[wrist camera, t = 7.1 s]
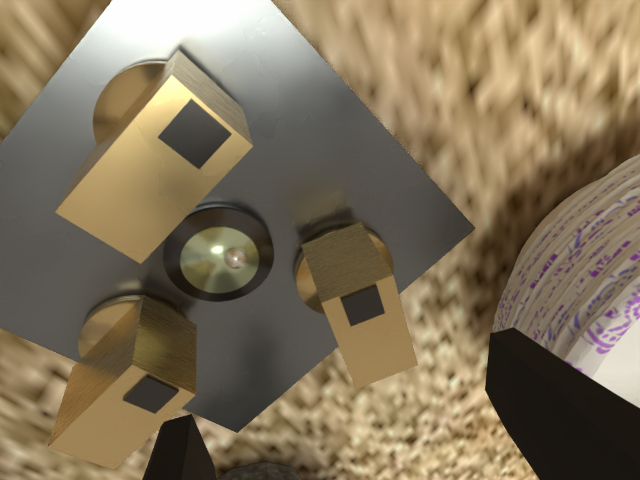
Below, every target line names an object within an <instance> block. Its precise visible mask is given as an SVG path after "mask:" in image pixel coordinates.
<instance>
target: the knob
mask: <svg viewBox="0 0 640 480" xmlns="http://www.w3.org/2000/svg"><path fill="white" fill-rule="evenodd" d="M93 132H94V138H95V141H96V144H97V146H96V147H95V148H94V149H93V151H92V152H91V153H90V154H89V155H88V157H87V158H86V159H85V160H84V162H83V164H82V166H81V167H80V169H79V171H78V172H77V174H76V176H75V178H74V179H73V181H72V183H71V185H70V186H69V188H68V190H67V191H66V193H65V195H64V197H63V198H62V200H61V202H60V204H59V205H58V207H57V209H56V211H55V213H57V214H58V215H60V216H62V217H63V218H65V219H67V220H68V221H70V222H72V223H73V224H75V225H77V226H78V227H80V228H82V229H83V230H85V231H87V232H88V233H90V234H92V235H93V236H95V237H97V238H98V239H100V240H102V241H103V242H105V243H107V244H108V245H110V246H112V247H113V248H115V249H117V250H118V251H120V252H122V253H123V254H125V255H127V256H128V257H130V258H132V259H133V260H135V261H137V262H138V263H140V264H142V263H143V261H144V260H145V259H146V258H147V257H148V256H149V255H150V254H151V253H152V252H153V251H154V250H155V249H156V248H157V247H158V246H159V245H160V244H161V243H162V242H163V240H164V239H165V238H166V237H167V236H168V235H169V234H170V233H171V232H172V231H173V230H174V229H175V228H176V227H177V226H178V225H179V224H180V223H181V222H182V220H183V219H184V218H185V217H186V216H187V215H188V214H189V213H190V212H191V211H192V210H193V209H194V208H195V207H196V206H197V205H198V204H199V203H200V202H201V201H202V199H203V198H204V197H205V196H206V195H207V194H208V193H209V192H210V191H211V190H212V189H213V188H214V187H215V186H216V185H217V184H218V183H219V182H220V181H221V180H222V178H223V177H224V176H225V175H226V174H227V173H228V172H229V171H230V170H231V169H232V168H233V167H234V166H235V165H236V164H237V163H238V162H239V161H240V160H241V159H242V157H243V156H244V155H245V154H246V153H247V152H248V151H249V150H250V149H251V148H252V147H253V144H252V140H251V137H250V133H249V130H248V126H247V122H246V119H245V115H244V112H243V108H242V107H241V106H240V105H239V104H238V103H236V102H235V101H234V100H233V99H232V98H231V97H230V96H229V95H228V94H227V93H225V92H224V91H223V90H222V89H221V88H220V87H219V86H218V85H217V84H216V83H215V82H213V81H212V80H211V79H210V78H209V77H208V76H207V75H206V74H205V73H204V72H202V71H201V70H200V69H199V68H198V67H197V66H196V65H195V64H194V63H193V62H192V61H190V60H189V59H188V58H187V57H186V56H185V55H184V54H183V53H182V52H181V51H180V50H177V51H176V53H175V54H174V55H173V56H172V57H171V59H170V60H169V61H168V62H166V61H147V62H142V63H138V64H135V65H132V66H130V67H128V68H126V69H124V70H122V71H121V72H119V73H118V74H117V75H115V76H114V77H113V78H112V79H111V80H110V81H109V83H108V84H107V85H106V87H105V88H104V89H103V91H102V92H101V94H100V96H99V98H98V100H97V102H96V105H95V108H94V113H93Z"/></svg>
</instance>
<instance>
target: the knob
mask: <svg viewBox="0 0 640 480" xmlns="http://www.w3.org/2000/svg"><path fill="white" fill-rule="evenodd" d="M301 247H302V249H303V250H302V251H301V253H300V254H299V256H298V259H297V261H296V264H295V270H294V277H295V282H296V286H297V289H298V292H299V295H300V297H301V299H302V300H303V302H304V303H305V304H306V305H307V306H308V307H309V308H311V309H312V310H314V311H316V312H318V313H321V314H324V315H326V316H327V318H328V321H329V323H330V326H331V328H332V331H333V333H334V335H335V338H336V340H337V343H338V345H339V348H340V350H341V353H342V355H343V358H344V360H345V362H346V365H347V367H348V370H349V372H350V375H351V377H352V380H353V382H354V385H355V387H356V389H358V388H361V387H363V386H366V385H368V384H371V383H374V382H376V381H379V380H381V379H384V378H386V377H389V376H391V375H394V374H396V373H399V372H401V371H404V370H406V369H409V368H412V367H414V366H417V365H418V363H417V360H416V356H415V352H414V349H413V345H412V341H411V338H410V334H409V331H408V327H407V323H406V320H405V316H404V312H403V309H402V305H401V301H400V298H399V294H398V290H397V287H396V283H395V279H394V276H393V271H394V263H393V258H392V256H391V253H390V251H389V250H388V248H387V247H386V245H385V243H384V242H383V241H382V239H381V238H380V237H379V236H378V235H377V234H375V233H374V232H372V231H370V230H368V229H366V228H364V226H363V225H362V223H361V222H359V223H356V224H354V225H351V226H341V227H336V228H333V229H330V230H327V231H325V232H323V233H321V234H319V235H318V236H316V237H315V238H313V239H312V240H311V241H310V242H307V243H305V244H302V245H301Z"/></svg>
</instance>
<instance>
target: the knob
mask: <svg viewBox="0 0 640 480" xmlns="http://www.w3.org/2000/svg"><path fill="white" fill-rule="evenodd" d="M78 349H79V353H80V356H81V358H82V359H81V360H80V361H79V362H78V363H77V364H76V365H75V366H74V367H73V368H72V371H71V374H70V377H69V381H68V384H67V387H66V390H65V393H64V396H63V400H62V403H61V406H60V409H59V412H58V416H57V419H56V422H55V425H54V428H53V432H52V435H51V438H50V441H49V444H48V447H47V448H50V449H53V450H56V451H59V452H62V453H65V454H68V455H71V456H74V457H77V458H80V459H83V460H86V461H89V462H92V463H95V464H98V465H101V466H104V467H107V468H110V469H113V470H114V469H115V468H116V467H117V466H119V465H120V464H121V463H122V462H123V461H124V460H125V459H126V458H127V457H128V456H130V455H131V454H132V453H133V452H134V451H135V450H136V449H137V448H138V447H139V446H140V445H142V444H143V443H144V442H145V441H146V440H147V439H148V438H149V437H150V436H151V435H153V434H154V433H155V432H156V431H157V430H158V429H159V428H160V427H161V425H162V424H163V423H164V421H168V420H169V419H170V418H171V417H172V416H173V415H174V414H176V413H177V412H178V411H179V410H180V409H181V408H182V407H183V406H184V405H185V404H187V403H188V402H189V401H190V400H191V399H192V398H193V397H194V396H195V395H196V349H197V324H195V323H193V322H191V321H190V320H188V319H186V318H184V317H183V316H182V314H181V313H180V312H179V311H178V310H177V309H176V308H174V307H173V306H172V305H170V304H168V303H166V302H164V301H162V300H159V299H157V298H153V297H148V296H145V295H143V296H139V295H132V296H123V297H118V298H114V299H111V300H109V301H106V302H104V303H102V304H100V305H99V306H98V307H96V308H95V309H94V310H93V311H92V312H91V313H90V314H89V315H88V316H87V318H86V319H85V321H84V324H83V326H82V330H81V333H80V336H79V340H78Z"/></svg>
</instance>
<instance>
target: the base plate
mask: <svg viewBox="0 0 640 480" xmlns="http://www.w3.org/2000/svg"><path fill="white" fill-rule="evenodd" d="M177 50H180V51H181V52H182V53H183V54H184V55H185V56H186V57H187V58H188V59H189V60H190V61H192V62H193V63H194V64H195V65H196V66H197V67H198V68H199V69H200V70H201V71H202V72H204V73H205V74H206V75H207V76H208V77H209V78H210V79H211V80H212V81H213V82H215V83H216V84H217V85H218V86H219V87H220V88H221V89H222V90H223V91H224V92H225V93H227V94H228V95H229V96H230V97H231V98H232V99H233V100H234V101H235V102H236V103H238V104H239V105H240V106H241V107H242V108H243V112H244V115H245V119H246V122H247V126H248V130H249V133H250V137H251V140H252V144H253V147H252V148H251V149H250V150H249V151H248V152H247V153H246V154H245V155H244V156H243V157H242V159H241V160H240V161H239V162H238V163H237V164H236V165H235V166H234V167H233V168H232V169H231V170H230V171H229V172H228V173H227V174H226V175H225V176H224V177H223V178H222V180H221V181H220V182H219V183H218V184H217V185H216V186H215V187H214V188H213V189H212V190H211V191H210V192H209V193H208V194H207V195H206V196H205V197H204V198H203V199H202V201H201V202H200V203H199V204H198V205H197V206H196V207H195V208H194V209H193V210H192V211H191V212H190V213H189V214H188V215H187V216H186V217H185V218H184V219H183V220H182V222H181V223H180V224H179V225H178V226H177V227H176V228H175V229H174V230H173V231H172V232H171V233H170V234H169V235H168V236H167V237H166V238H165V239H164V240H163V242H162V243H161V244H160V245H159V246H158V247H157V248H156V249H155V250H154V251H153V252H152V253H151V254H150V255H149V256H148V257H147V258H146V259H145V260H144V261H143V263H142V264H140V263H138V262H137V261H135V260H133V259H132V258H130V257H128V256H127V255H125V254H123V253H122V252H120V251H118V250H117V249H115V248H113V247H112V246H110V245H108V244H107V243H105V242H103V241H102V240H100V239H98V238H97V237H95V236H93V235H92V234H90V233H88V232H87V231H85V230H83V229H82V228H80V227H78V226H77V225H75V224H73V223H72V222H70V221H68V220H67V219H65V218H63V217H62V216H60V215H58V214H57V213H55V211H56V209H57V207H58V205H59V204H60V202H61V200H62V198H63V197H64V195H65V193H66V191H67V190H68V188H69V186H70V185H71V183H72V181H73V179H74V178H75V176H76V174H77V172H78V171H79V169H80V167H81V166H82V164H83V162H84V160H85V159H86V158H87V157H88V155H89V154H90V153H91V152H92V151H93V149H94V148H95V147H96V146H97V144H96V141H95V138H94V132H93V113H94V108H95V105H96V102H97V100H98V98H99V96H100V94H101V92H102V91H103V89H104V88H105V87H106V85H107V84H108V83H109V81H110V80H111V79H112V78H113V77H114V76H115V75H117V74H118V73H119V72H121V71H122V70H124V69H126V68H128V67H130V66H132V65H135V64H138V63H142V62H147V61H166V62H168V61H169V60H170V59H171V57H172V56H173V55H174V54H175V53H176V51H177ZM359 222H361V223H362V225H363V226H364V228H366V229H368V230H370V231H372V232H374V233H375V234H377V235H378V236H379V237H380V238H381V239H382V241H383V242H384V243H385V245H386V247H387V248H388V250H389V251H390V253H391V256H392V258H393V263H394V271H393V276H394V279H395V283H396V287H397V290H398V294H400V293H401V292H402V291H403V290H404V289H406V288H407V287H408V286H409V285H410V284H411V283H413V282H414V281H415V280H416V279H417V278H418V277H420V276H421V275H422V274H423V273H424V272H425V271H427V270H428V269H429V268H430V267H431V266H432V265H434V264H435V263H436V262H437V261H438V260H439V259H441V258H442V257H443V256H444V255H445V254H446V253H448V252H449V251H450V250H451V249H452V248H453V247H454V246H456V245H457V244H458V243H459V242H460V241H461V240H463V239H464V238H465V237H466V236H467V235H468V234H470V233H471V232H472V231H473V230H474V229H475V227H474V226H473V225H472V224H471V223H470V222H469V221H468V220H467V218H466V217H465V216H464V215H463V214H462V213H461V212H460V211H459V210H458V208H457V207H456V206H455V205H454V204H453V203H452V202H451V201H450V199H449V198H448V197H447V196H446V195H445V194H444V193H443V192H442V191H441V189H440V188H439V187H438V186H437V185H436V184H435V183H434V182H433V181H432V179H431V178H430V177H429V176H428V175H427V174H426V173H425V172H424V171H423V169H422V168H421V167H420V166H419V165H418V164H417V163H416V162H415V161H414V159H413V158H412V157H411V156H410V155H409V154H408V153H407V152H406V150H405V149H404V148H403V147H402V146H401V145H400V144H399V143H398V142H397V140H396V139H395V138H394V137H393V136H392V135H391V134H390V133H389V132H388V130H387V129H386V128H385V127H384V126H383V125H382V124H381V123H380V122H379V120H378V119H377V118H376V117H375V116H374V115H373V114H372V113H371V112H370V110H369V109H368V108H367V107H366V106H365V105H364V104H363V103H362V101H361V100H360V99H359V98H358V97H357V96H356V95H355V94H354V93H353V91H352V90H351V89H350V88H349V87H348V86H347V85H346V84H345V83H344V81H343V80H342V79H341V78H340V77H339V76H338V75H337V74H336V73H335V71H334V70H333V69H332V68H331V67H330V66H329V65H328V64H327V63H326V61H325V60H324V59H323V58H322V57H321V56H320V55H319V54H318V52H317V51H316V50H315V49H314V48H313V47H312V46H311V45H310V44H309V42H308V41H307V40H306V39H305V38H304V37H303V36H302V35H301V34H300V32H299V31H298V30H297V29H296V28H295V27H294V26H293V25H292V24H291V22H290V21H289V20H288V19H287V18H286V17H285V16H284V15H283V13H282V12H281V11H280V10H279V9H278V8H277V7H276V6H275V5H274V3H273V2H272V1H271V0H112V2H111V3H110V4H109V6H108V7H107V8H106V9H105V11H104V12H103V13H102V15H101V16H100V17H99V18H98V20H97V21H96V22H95V23H94V25H93V26H92V27H91V29H90V30H89V31H88V32H87V34H86V35H85V36H84V38H83V39H82V40H81V41H80V43H79V44H78V45H77V47H76V48H75V49H74V50H73V52H72V53H71V54H70V55H69V57H68V58H67V59H66V61H65V62H64V63H63V64H62V66H61V67H60V68H59V70H58V71H57V72H56V73H55V75H54V76H53V77H52V79H51V80H50V81H49V82H48V84H47V85H46V86H45V87H44V89H43V90H42V91H41V93H40V94H39V95H38V96H37V98H36V99H35V100H34V102H33V103H32V104H31V105H30V107H29V108H28V109H27V110H26V112H25V113H24V114H23V116H22V117H21V118H20V119H19V121H18V122H17V123H16V125H15V126H14V127H13V128H12V130H11V131H10V132H9V134H8V135H7V136H6V137H5V139H4V140H3V141H2V142H1V144H0V328H2V329H4V330H6V331H9V332H11V333H13V334H16V335H18V336H20V337H22V338H25V339H27V340H29V341H31V342H34V343H36V344H38V345H40V346H43V347H45V348H47V349H49V350H52V351H54V352H56V353H58V354H61V355H63V356H65V357H67V358H70V359H72V360H74V361H76V362H79V361H80V360H81V359H82V358H81V356H80V353H79V349H78V340H79V336H80V333H81V330H82V326H83V324H84V321H85V319H86V318H87V316H88V315H89V314H90V313H91V312H92V311H93V310H94V309H95V308H96V307H98V306H99V305H100V304H102V303H104V302H106V301H109V300H111V299H114V298H118V297H123V296H132V295H139V296H143V295H145V296H148V297H153V298H157V299H159V300H162V301H164V302H166V303H168V304H170V305H172V306H173V307H174V308H176V309H177V310H178V311H179V312H180V313H181V314H182V316H183V317H184V318H186V319H188V320H190V321H191V322H193V323H195V324H197V349H196V395H195V396H194V397H193V398H192V399H191V400H190V401H189V402H188V403H187V404H185V405H184V406H183V407H182V409H185V410H187V411H189V412H191V413H194V414H196V415H198V416H200V417H203V418H205V419H207V420H209V421H212V422H214V423H216V424H218V425H221V426H223V427H225V428H228V429H230V430H232V431H234V432H237V433H238V432H239V431H240V430H241V429H242V428H244V427H245V426H246V425H247V424H248V423H249V422H251V421H252V420H253V419H254V418H255V417H256V416H258V415H259V414H260V413H261V412H262V411H263V410H265V409H266V408H267V407H268V406H269V405H270V404H272V403H273V402H274V401H275V400H276V399H277V398H279V397H280V396H281V395H282V394H283V393H284V392H286V391H287V390H288V389H289V388H290V387H291V386H293V385H294V384H295V383H296V382H297V381H298V380H300V379H301V378H302V377H303V376H304V375H305V374H307V373H308V372H309V371H310V370H311V369H312V368H313V367H315V366H316V365H317V364H318V363H319V362H320V361H322V360H323V359H324V358H325V357H326V356H327V355H329V354H330V353H331V352H332V351H333V350H334V349H336V348H337V347H338V346H339V345H338V343H337V340H336V338H335V335H334V333H333V331H332V328H331V326H330V323H329V321H328V318H327V316H326V315H324V314H321V313H318V312H316V311H314V310H312V309H311V308H309V307H308V306H307V305H306V304H305V303H304V302H303V300H302V299H301V297H300V295H299V292H298V289H297V286H296V282H295V277H294V270H295V264H296V261H297V259H298V256H299V254H300V253H301V251H302V250H303V249H302V247H301V245H302V244H305V243H307V242H310V241H311V240H312V239H313V238H315V237H316V236H318V235H319V234H321V233H323V232H325V231H327V230H330V229H333V228H336V227H341V226H351V225H354V224H356V223H359Z"/></svg>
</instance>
